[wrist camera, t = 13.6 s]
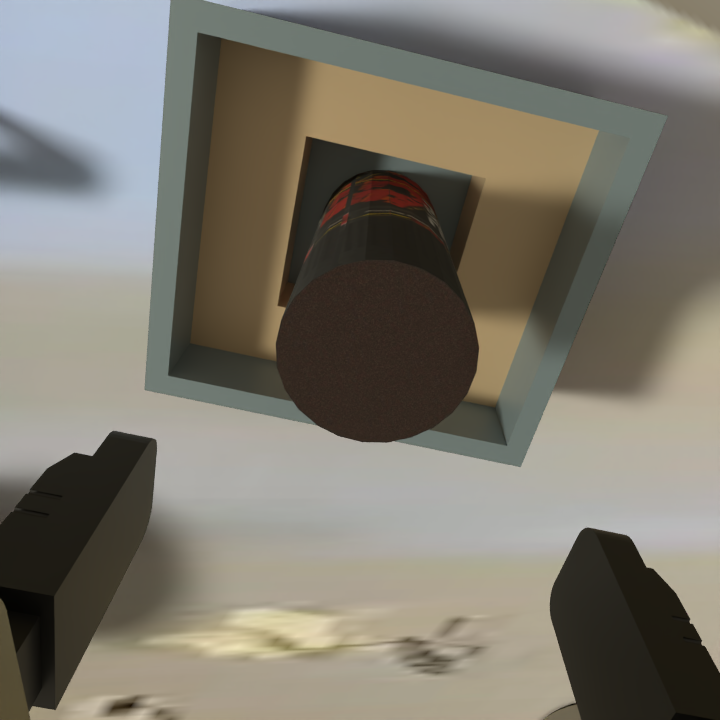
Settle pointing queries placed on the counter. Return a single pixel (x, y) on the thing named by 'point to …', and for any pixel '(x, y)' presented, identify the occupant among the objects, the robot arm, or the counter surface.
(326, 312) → the deodorant
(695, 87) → the counter surface
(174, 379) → the bin
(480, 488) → the counter surface
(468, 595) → the counter surface
